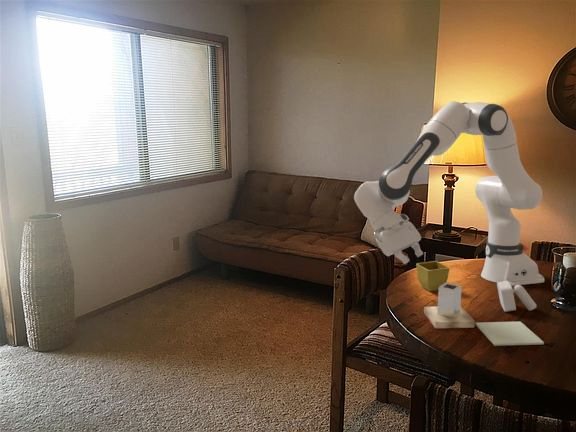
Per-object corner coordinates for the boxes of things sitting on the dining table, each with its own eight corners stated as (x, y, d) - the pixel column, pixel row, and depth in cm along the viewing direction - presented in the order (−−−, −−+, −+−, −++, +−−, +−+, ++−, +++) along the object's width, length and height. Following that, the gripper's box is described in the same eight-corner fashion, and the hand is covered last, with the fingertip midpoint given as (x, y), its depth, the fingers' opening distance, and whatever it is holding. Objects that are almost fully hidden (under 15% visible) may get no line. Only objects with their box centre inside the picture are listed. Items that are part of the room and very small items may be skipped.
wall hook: (540, 313, 163) (535, 284, 161) (506, 318, 166) (500, 289, 164) (533, 303, 171) (528, 275, 169) (501, 308, 173) (496, 281, 172)
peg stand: (460, 311, 167) (462, 285, 165) (474, 327, 155) (476, 299, 153) (423, 312, 167) (425, 286, 165) (435, 328, 155) (436, 300, 153)
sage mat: (520, 323, 158) (520, 321, 157) (543, 344, 144) (543, 342, 144) (475, 324, 157) (475, 322, 157) (494, 345, 143) (494, 343, 143)
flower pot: (427, 294, 182) (428, 270, 180) (414, 286, 190) (415, 263, 188) (448, 291, 184) (450, 267, 182) (435, 283, 193) (436, 260, 191)
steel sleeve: (437, 314, 160) (438, 287, 158) (444, 309, 164) (445, 282, 162) (453, 318, 157) (455, 290, 155) (460, 313, 161) (461, 286, 159)
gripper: (378, 225, 159) (405, 261, 155) (408, 214, 174) (434, 246, 170) (365, 236, 163) (391, 272, 159) (396, 225, 178) (421, 257, 174)
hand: (414, 258), depth 165 cm, fingers open, 8 cm apart
